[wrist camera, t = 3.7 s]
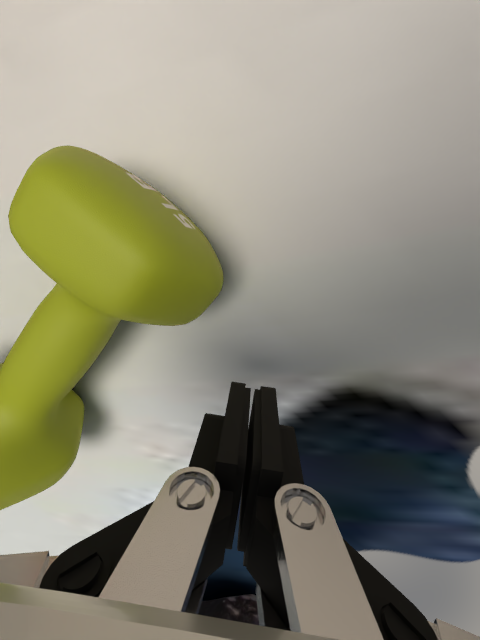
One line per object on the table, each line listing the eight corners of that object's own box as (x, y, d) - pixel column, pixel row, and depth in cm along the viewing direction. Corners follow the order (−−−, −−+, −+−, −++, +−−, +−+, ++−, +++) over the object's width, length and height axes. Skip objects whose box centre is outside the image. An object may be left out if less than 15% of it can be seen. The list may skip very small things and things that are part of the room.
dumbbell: (88, 445, 19) (-12, 564, 12) (-13, 372, 18) (-183, 456, 11) (249, 263, 15) (230, 292, 8) (124, 150, 14) (-24, 67, 7)
